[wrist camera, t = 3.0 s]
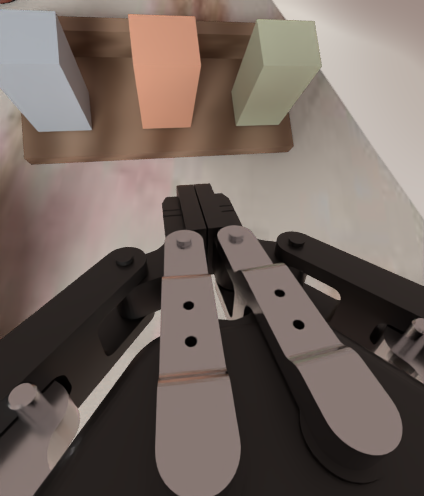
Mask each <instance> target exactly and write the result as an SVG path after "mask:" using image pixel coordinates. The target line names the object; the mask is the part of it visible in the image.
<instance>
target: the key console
mask: <svg viewBox="0 0 424 496" xmlns="http://www.w3.org/2000/svg"><path fill="white" fill-rule="evenodd" d="M57 17H58V19H59V22H60V24H61V27H62V29H63V31H64V34H65V36H66V39H67V41H68V44H69V46H70V48H71V51H72V53H73V56H74V58H75V60H76V63H77V65H78V68H79V70H80V73H81V75H82V77H83V80H84V82H85V85H86V87H87V89H88V92H89V100H90V111H91V123H92V130H83V131H50V132H38V131H37V130H36V129H35V127H34V126H33V125H32V124H31V123H30V122H29V121H28V119H27V118H26V117H25V116H24V115H23V114H22V113H21V117H22V132H23V147H24V159H25V160H27V161H28V162H29V163H30V164H31V165H32V164H52V163H73V162H93V161H114V160H134V159H154V158H175V157H195V156H216V155H236V154H256V153H277V152H288V151H289V150H290V149H291V148H292V147H293V146H294V145H293V139H292V132H291V125H290V119H289V112H288V113H287V114H286V116H285V117H284V118H283V120H282V121H281V122H280V124H279V125H255V126H236V123H235V115H234V108H233V100H232V93H231V91H232V89H233V86H234V83H235V80H236V77H237V74H238V72H239V69H240V66H241V63H242V60H243V57H244V54H245V52H246V49H247V46H248V43H249V40H250V37H251V35H252V32H253V29H254V26H255V23H244V22H214V21H196V29H197V37H198V45H199V53H200V61H201V69H200V75H199V81H198V87H197V93H196V99H195V105H194V111H193V117H192V123H191V127H185V128H153V129H143V126H142V120H141V113H140V107H139V100H138V94H137V87H136V80H135V74H134V67H133V59H132V49H131V39H130V30H129V20H128V19H125V18H95V17H66V16H57Z"/></svg>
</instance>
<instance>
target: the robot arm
mask: <svg viewBox="0 0 424 496" xmlns="http://www.w3.org/2000/svg"><path fill="white" fill-rule="evenodd" d="M162 209H163V219H164V229H165V238H166V239H165V243H164V244H163V245H162V246H161V247H160V248H159V249H157V250H155V251H153V252H150V253H147V254H145V253H144V252H143V251H142V250H140V249H138V248H134V247H124V248H119V249H116V250H114V251H112V252H111V253H109V254H108V255H107V256H105V257H104V258H103V259H102V260H100V261H99V262H98V263H97V264H95V265H94V266H93V267H92V268H90V269H89V270H88V271H86V272H85V273H84V274H83V275H81V276H80V277H79V278H78V279H76V280H75V281H74V282H73V283H71V284H70V285H69V286H68V287H66V288H65V289H64V290H63V291H61V292H60V293H59V294H58V295H56V296H55V297H54V298H53V299H51V300H50V301H49V302H48V303H46V304H45V305H44V306H43V307H41V308H40V309H39V310H38V311H36V312H35V313H34V314H33V315H31V316H30V317H29V318H27V319H26V320H25V321H24V322H22V323H21V324H20V325H19V326H17V327H16V328H15V329H14V330H12V331H11V332H10V333H9V334H7V335H6V336H5V337H4V338H2V339H1V340H0V496H424V286H422V285H419V284H417V283H415V282H413V281H410V280H408V279H406V278H403V277H401V276H399V275H397V274H394V273H392V272H390V271H387V270H385V269H383V268H381V267H378V266H376V265H374V264H371V263H369V262H367V261H365V260H362V259H360V258H358V257H355V256H353V255H351V254H349V253H346V252H344V251H342V250H339V249H337V248H335V247H333V246H330V245H328V244H326V243H323V242H321V241H319V240H316V239H314V238H312V237H310V236H307V235H305V234H302V233H299V232H285V233H282V234H280V235H279V236H278V238H277V242H273V241H264V240H259V239H257V238H256V237H255V235H254V234H253V232H252V231H251V230H249V229H248V228H245V227H243V226H242V224H241V222H240V220H239V218H238V216H237V214H236V212H235V211H234V208H233V206H232V204H231V202H230V200H229V198H228V197H226V196H225V195H223V194H222V193H219V194H214V192H213V190H212V187H211V185H210V183H209V184H194V185H179V186H177V197H166V198H165V200H164V201H163V203H162ZM211 274H214V275H215V278H216V279H215V289H216V292H217V295H218V297H219V300H220V303H221V305H222V308H223V311H224V313H225V316H226V319H227V320H221V319H218V315H217V309H216V303H215V297H214V291H213V285H212V279H211ZM307 275H309V276H311V277H313V278H315V279H317V280H319V281H321V282H323V283H325V284H327V285H329V286H331V287H332V288H334V289H336V290H337V291H338V292H339V294H340V296H341V300H336V299H334V298H332V297H330V296H328V295H326V294H324V293H322V292H320V291H319V290H317V289H315V288H313V287H311V286H309V285H307V284H305V283H304V282H305V279H306V276H307ZM160 309H161V329H160V337H158V338H156V339H155V340H153V341H152V342H150V343H149V344H148V345H146V346H145V347H144V348H143V349H142V350H141V351H140V352H139V353H138V354H137V355H136V356H135V357H134V359H133V360H132V361H131V363H130V364H129V365H128V367H127V368H126V370H125V371H124V372H123V374H122V375H121V376H120V378H119V379H118V380H117V382H116V383H115V385H114V386H113V387H112V389H111V390H110V391H109V393H108V394H107V395H106V397H105V398H104V400H103V401H102V402H101V404H100V405H99V406H98V408H97V409H96V410H95V412H94V413H93V414H92V416H91V417H90V419H89V420H88V421H87V423H86V424H85V425H84V427H83V428H82V429H81V431H80V432H79V434H78V435H77V436H76V438H75V439H74V440H73V438H74V437H75V435H76V433H77V431H78V428H79V423H80V413H79V410H78V408H79V407H80V406H81V404H82V403H83V402H84V401H85V400H86V398H87V397H88V396H89V395H90V393H91V392H92V391H93V390H94V389H95V387H96V386H97V385H98V384H99V383H100V381H101V380H102V379H103V378H104V377H105V375H106V374H107V373H108V372H109V371H110V369H111V368H112V367H113V366H114V365H115V363H116V362H117V361H118V360H119V358H120V357H121V356H122V355H123V354H124V352H125V351H126V350H127V349H128V348H129V346H130V345H131V344H132V343H133V342H134V340H135V339H136V338H137V337H138V336H139V334H140V333H141V332H142V331H143V330H144V328H145V327H146V326H147V325H148V324H149V322H150V321H151V320H152V318H153V317H154V314H155V312H156V311H158V310H160ZM72 440H73V442H72ZM71 442H72V443H71ZM70 443H71V444H70ZM69 445H70V446H69ZM68 446H69V447H68Z"/></svg>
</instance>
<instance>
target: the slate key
mask: <svg viewBox="0 0 424 496" xmlns="http://www.w3.org/2000/svg"><path fill="white" fill-rule="evenodd" d="M0 88H1V90H2V91H3V92H4V93H5V94H6V95H7V96H8V98H9V99H10V100H11V101H12V102H13V103H14V105H15V106H16V107H17V108H18V109H19V110H20V111H21V113H22V114H23V115H24V116H25V117H26V118H27V119H28V121H29V122H30V123H31V124H32V125H33V126H34V127H35V129H36V130H37V131H38V132H50V131H83V130H92V123H91V111H90V100H89V92H88V89H87V87H86V85H85V82H84V80H83V77H82V75H81V73H80V70H79V68H78V65H77V63H76V60H75V58H74V56H73V53H72V51H71V48H70V46H69V44H68V41H67V39H66V36H65V34H64V31H63V29H62V27H61V24H60V22H59V19H58V17H57V15H56V12H55V11H35V10H7V9H0Z"/></svg>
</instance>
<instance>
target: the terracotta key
mask: <svg viewBox="0 0 424 496" xmlns="http://www.w3.org/2000/svg"><path fill="white" fill-rule="evenodd" d="M128 20H129V30H130V39H131V49H132V59H133V67H134V74H135V80H136V87H137V94H138V100H139V107H140V113H141V120H142V126H143V129H153V128H185V127H191V123H192V117H193V111H194V105H195V99H196V93H197V87H198V81H199V75H200V69H201V61H200V53H199V45H198V37H197V29H196V21H195V17H193V16H166V15H138V14H128Z"/></svg>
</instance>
